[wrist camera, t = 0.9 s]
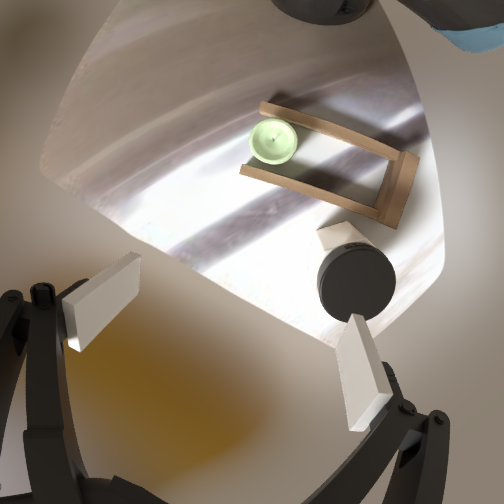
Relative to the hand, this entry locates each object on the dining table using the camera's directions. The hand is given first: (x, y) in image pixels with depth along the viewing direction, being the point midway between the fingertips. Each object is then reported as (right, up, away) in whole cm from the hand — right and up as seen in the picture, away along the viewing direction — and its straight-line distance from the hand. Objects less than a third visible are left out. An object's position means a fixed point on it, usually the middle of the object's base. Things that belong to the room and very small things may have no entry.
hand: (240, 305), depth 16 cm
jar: (+12, +3, +21) cm, 25 cm away
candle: (+4, +17, +18) cm, 25 cm away
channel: (+9, +15, +18) cm, 25 cm away
